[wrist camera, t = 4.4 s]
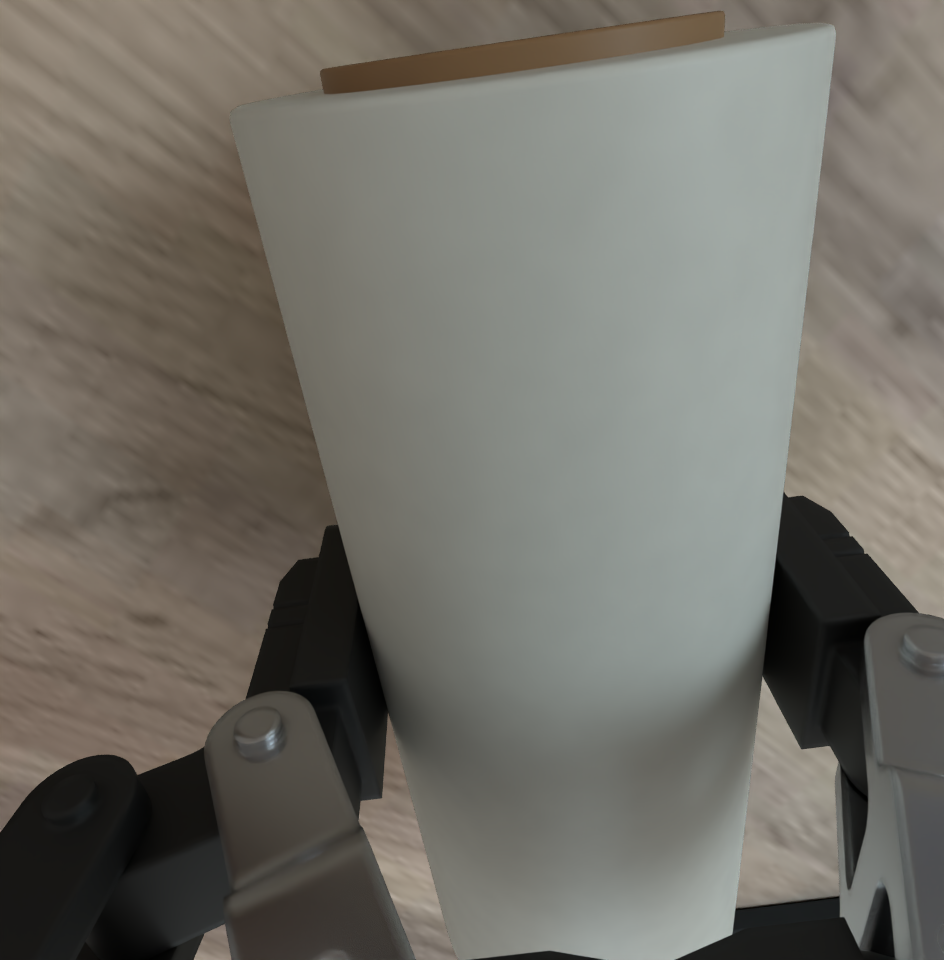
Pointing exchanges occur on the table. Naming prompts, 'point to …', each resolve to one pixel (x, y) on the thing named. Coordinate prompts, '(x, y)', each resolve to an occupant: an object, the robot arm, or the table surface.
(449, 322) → the towel roll
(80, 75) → the table surface
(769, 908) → the mat
